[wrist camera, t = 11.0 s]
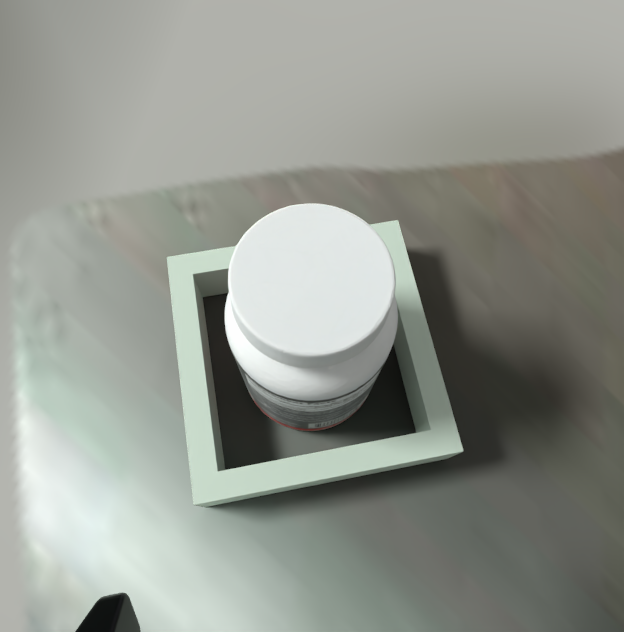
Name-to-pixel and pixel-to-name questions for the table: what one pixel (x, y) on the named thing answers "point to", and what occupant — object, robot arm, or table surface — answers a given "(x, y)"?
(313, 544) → the table surface
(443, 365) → the table surface
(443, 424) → the bottle holder
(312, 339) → the pill bottle
